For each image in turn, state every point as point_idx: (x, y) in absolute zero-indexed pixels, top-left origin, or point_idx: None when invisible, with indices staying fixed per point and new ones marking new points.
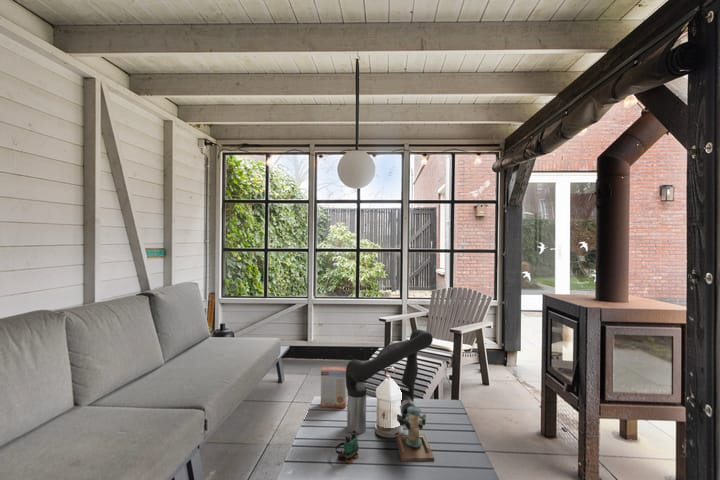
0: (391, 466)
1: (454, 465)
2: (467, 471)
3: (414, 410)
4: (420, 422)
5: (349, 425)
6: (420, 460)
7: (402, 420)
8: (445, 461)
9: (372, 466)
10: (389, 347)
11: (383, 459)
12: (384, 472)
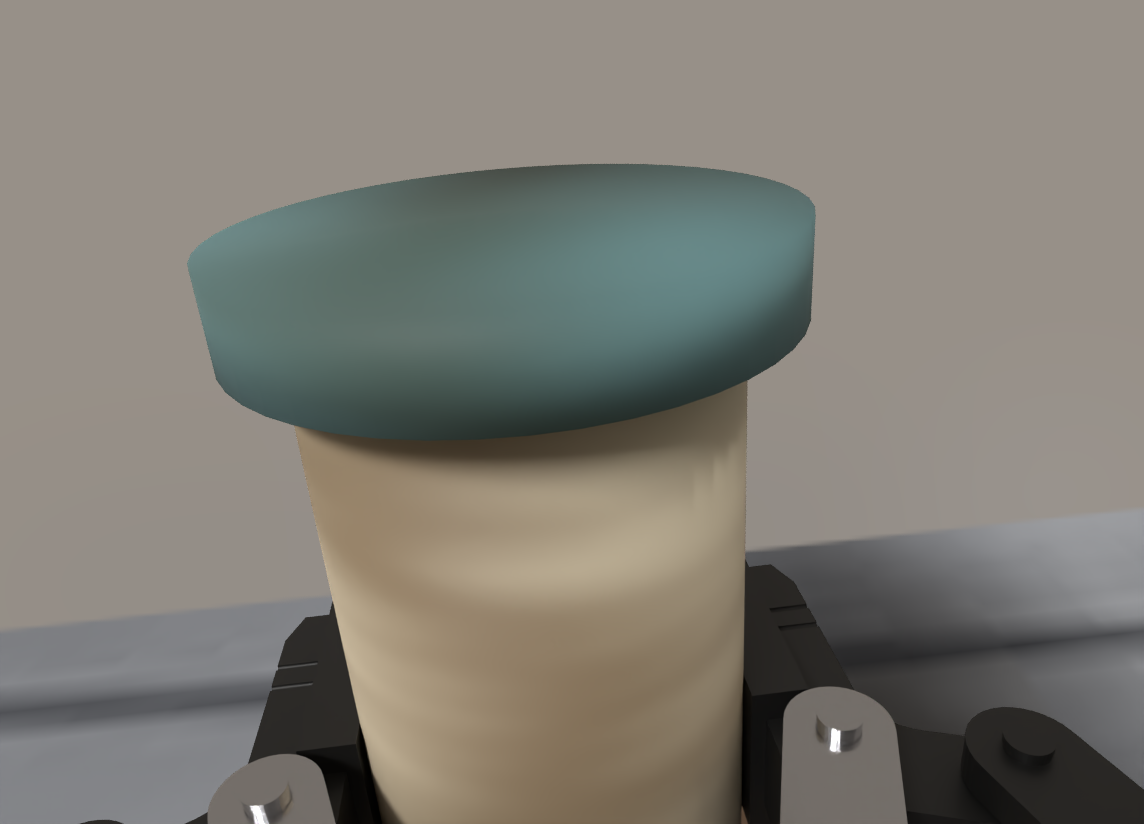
0: (891, 621)
1: (77, 728)
2: (8, 652)
3: (504, 195)
4: (327, 663)
5: None
6: None
7: (992, 726)
8: (143, 793)
9: (1118, 595)
10: None
11: (1066, 726)
12: (929, 542)
